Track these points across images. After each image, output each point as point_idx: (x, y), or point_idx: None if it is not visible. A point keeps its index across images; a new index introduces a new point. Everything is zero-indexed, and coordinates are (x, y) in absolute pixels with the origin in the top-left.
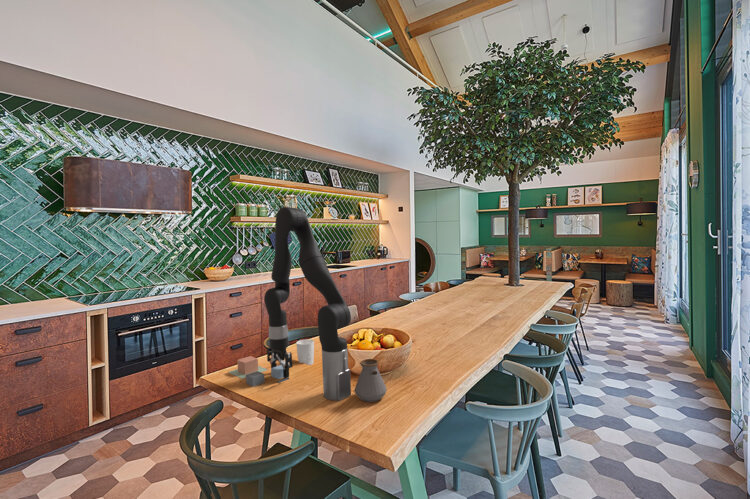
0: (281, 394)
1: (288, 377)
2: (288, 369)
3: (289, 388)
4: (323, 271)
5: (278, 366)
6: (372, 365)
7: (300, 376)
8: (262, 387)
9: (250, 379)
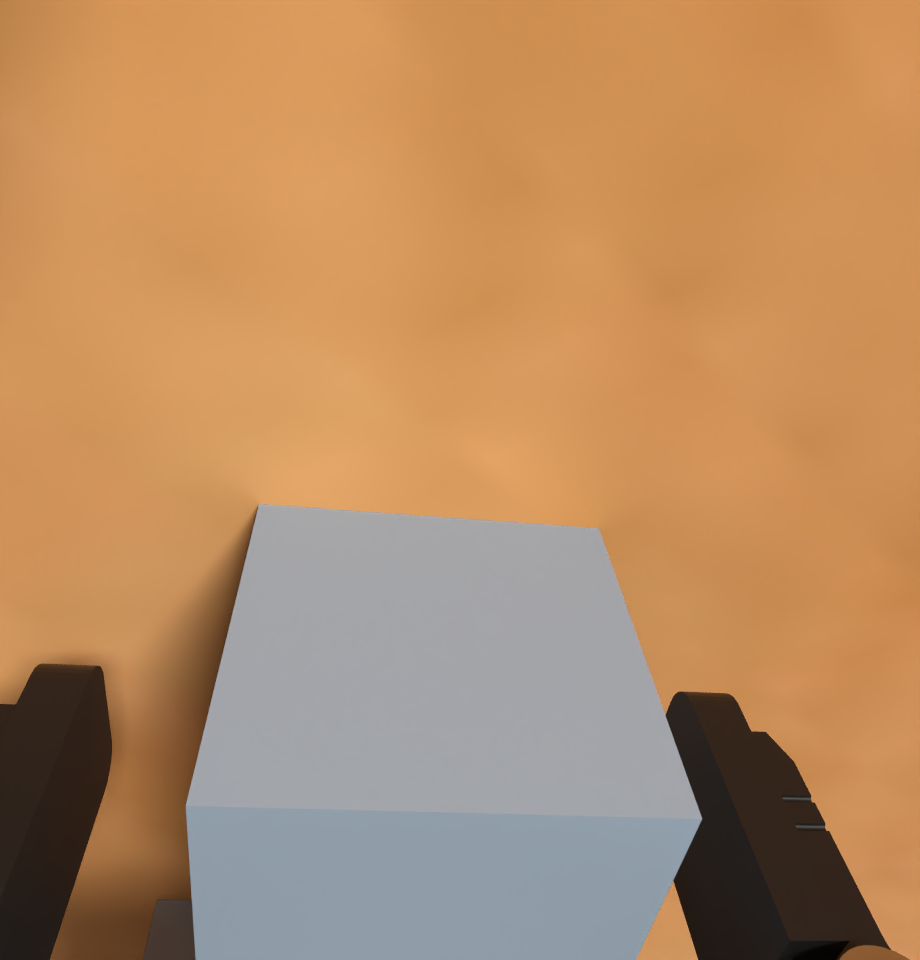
0: (897, 916)
1: (603, 573)
2: (871, 943)
3: (912, 775)
4: None
5: (274, 926)
6: None
7: (806, 244)
8: None
9: None
